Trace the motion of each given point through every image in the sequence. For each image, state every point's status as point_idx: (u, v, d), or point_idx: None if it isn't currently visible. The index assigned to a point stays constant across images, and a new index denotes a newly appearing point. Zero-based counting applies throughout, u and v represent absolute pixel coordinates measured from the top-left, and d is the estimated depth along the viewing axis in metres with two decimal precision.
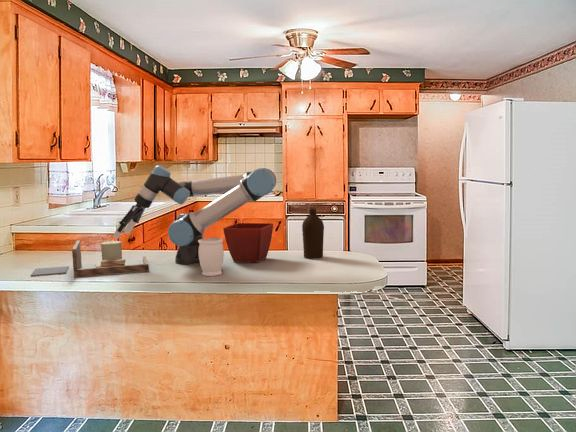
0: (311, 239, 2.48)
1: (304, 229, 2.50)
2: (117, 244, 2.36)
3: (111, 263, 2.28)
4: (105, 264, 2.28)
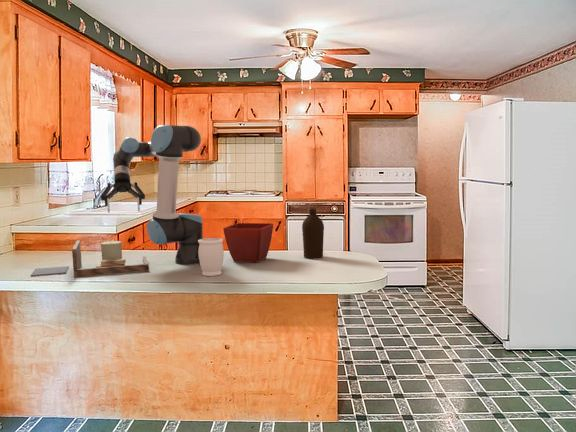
0: (311, 239, 2.48)
1: (304, 229, 2.50)
2: (117, 244, 2.36)
3: (111, 263, 2.28)
4: (105, 264, 2.28)
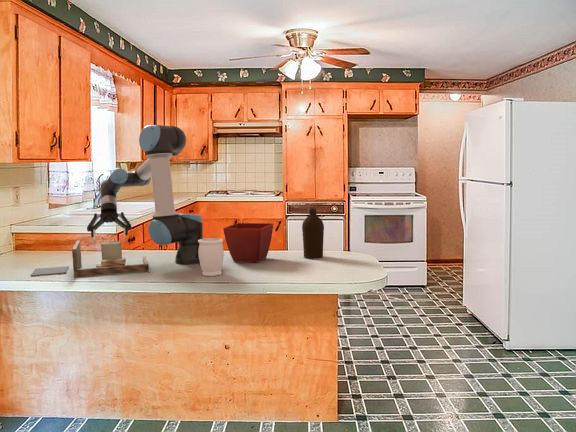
0: (311, 239, 2.48)
1: (304, 229, 2.50)
2: (117, 244, 2.36)
3: (112, 263, 2.29)
4: (106, 264, 2.28)
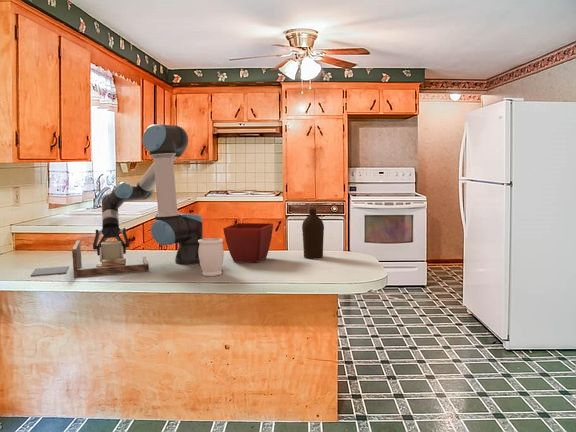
0: (311, 239, 2.48)
1: (304, 229, 2.50)
2: (117, 244, 2.36)
3: (112, 263, 2.29)
4: (106, 264, 2.28)
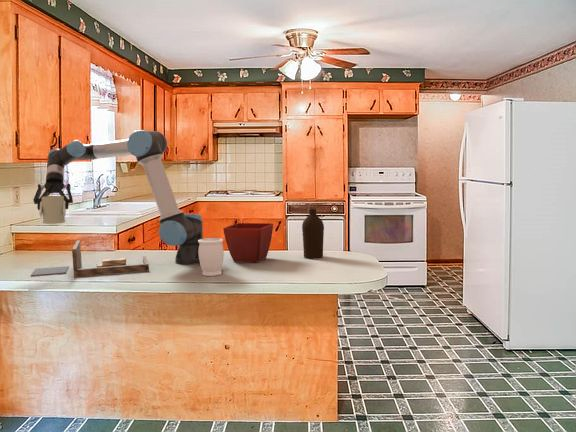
0: (311, 239, 2.48)
1: (304, 229, 2.50)
2: (58, 198, 2.28)
3: (112, 262, 2.29)
4: (106, 264, 2.29)
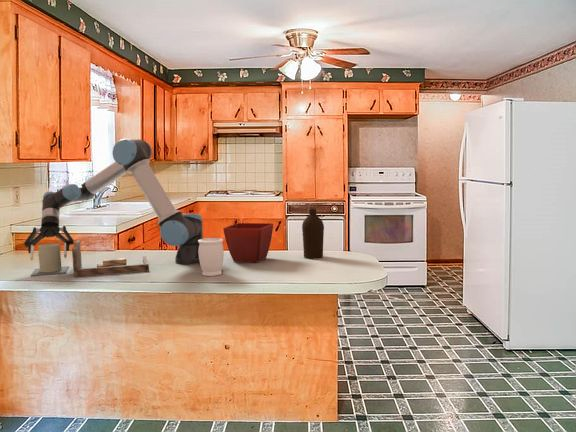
0: (311, 239, 2.48)
1: (304, 229, 2.50)
2: (54, 247, 2.29)
3: (113, 262, 2.30)
4: (107, 263, 2.29)
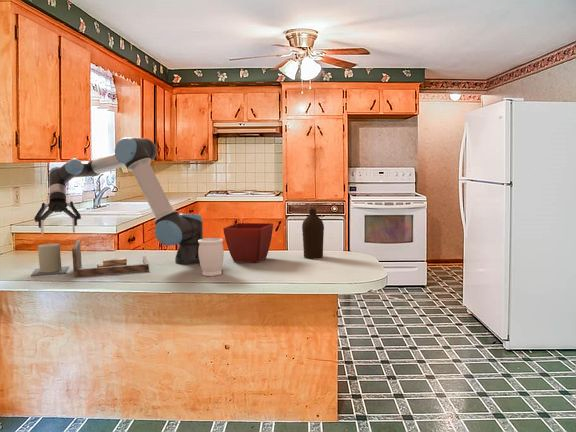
0: (311, 239, 2.48)
1: (304, 229, 2.50)
2: (54, 247, 2.28)
3: (113, 262, 2.30)
4: (107, 263, 2.29)
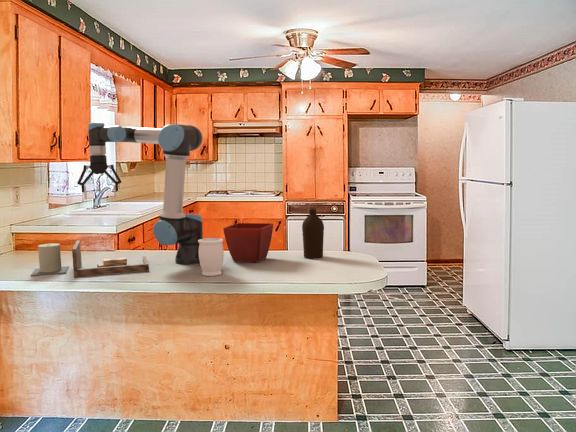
0: (311, 239, 2.48)
1: (304, 229, 2.50)
2: (54, 247, 2.28)
3: (114, 262, 2.30)
4: (108, 263, 2.29)
